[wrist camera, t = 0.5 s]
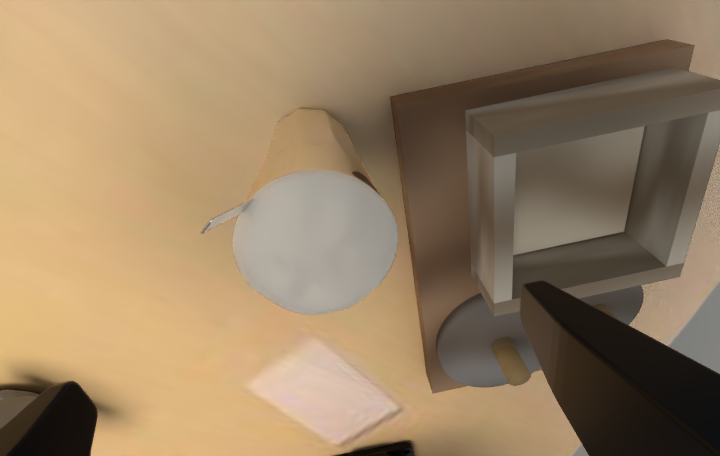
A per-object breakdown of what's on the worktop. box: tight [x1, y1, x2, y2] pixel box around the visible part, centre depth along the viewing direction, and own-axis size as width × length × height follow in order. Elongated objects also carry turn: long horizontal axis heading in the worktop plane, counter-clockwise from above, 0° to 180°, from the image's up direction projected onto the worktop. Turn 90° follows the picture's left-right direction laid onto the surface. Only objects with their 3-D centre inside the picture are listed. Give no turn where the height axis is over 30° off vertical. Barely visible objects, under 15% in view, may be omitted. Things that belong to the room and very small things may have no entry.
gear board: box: [390, 40, 720, 393], centre depth 21 cm, size 18×12×4 cm, turn 10°
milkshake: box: [201, 108, 398, 315], centre depth 14 cm, size 5×5×10 cm
